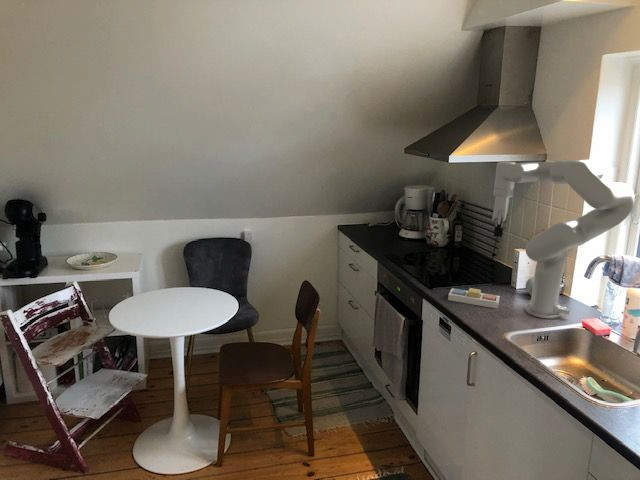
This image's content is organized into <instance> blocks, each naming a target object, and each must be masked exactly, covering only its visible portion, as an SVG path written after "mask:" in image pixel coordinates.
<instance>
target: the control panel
mask: <svg viewBox="0 0 640 480" xmlns="http://www.w3.org/2000/svg"><path fill="white" fill-rule="evenodd" d="M454 289H455V288H453V287H452V288H451V289H450V291H449V293H448V295H447V296H448V297H447V301H450V302H456V303H464V304H468V305H474V306H479V307H486V308H493V309H498V307H499V304H500V297H501V296H500V295H496V299H495V301H493V300H487V299H483V297H484V294H485V292H484V293H483V292H481V293H480V298H475V297H469V296H468V291H469V290H466V291H465V296H462V295H456V294H453V291H454Z"/></svg>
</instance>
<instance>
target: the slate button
mask: <svg viewBox="0 0 640 480" xmlns="http://www.w3.org/2000/svg"><path fill="white" fill-rule="evenodd" d="M453 289H454V291H453V294H456V295H462V296H465V291H467V290H466V289H459V288H453Z"/></svg>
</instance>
